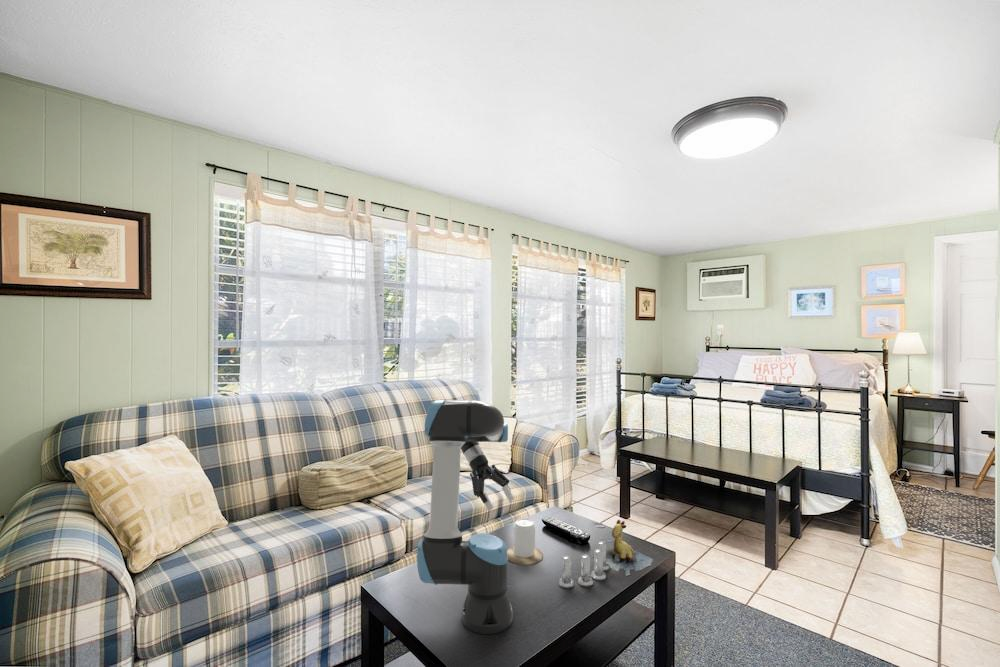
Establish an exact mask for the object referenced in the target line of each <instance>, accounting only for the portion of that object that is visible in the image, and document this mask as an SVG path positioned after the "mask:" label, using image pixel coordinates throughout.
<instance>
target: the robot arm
mask: <svg viewBox="0 0 1000 667" xmlns="http://www.w3.org/2000/svg"><path fill="white" fill-rule="evenodd" d="M425 415H426V417H425V421H424V435H425V436H426V437H428V438H429V440H428V441H429V444H430V445H431V446H432V447H433V453H432V454H433V458H432V474H431V475H432V476H431V494H430V496H431V497H430V513H429V528H428V529H427V530H426V532H425V533H424V534H423V539H420V540H419V542H418V543H417V551H416V564H417V565H416V567H417V574H418V577H419V580H420V581H421V582H422V583H424V584H431V585H434V586H436V585H463V586H464V585H466V586H467V587H468V588H467V594H466V597H465V600H464V604H463V607H462V612H461V621H462V624H463V625H464V627H465V628H466V629H468V630H469V631H471V632H473V633H475V634H481V635H494V634H497V633H501V632H503V631H505V630H507V629H508V628H509V627H510V626H511V624H512V623H513V618H514V617H513V615H514V614H513V613H514V612H513V610H514V609H513V607H512V604H511V602H510V597H509V593H508V562H509V560H508V557H507V550H508V548H507V545H506V543H505V542H504V541H503V539H501V538H499V537H498V536H495V535H493V534H491V533H477V534H473V535H471V536H470V537H469V538H468V540H463V533H462V532H461V531H460V530H459V528H458V525H459V524H458V522H459V505H460V504H459V502H460V501H459V500H460V498H459V497H460V476H461V475H460V474H461V473H460V471H461V470H460V469H461V453H462V454H463V456H464V457H465V460H466V461H467V463H468V465H469V468H471V472H470V473H469V476H470V478H471V483H472V484H471V485H472V491H473V496H474V497H477V498H480V500H481V502H482V503H483V504H484V506H485V507H486V509H487V511H488V512H491V511H492V510H493V509H495V508H494V504H493V503H492V501H491V500H490V497H489V496H488V494H487V492H485V491H484V490H485V481H486V480H492V481H493V482H495V483H496V484H497V485H499V486H500V487H502V488H501V490H502V491H503V494H504V495H505V496H506V498H507V500H508V502H509V503H512V502H513V501H515V499H516V497H515V496H514V495H513V493H512V490H511V489H510V486H509V485H508V484H509V483H510V480H509V479H508V478H507V477H506V476H505V475H504V474H503V473H502V472H501V471H500V469H498V468H497V467H496V465H495V464H492V465H490V466H489V461H488V459H487V456H486V455H485V454H484V453H485V452H484V451H483V450H482V447H481V446H480V444H479V443H482V442H483V443H506V442H507V441H508V440H509V436H508V435H509V425H508V423H505V419H504V418H505V417H504V415H503V413H502V411H500V409H498V408H497V407H496V406H494V405H492V404H490V403H488V402H485V401H482V400H465V399H464V400H463V399H462V400H459V399H458V400H456V399H441V400H434V401H432V402H431V403H430V405H429V407H428V409H427V411H426V414H425ZM478 442H479V443H478Z"/></svg>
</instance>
